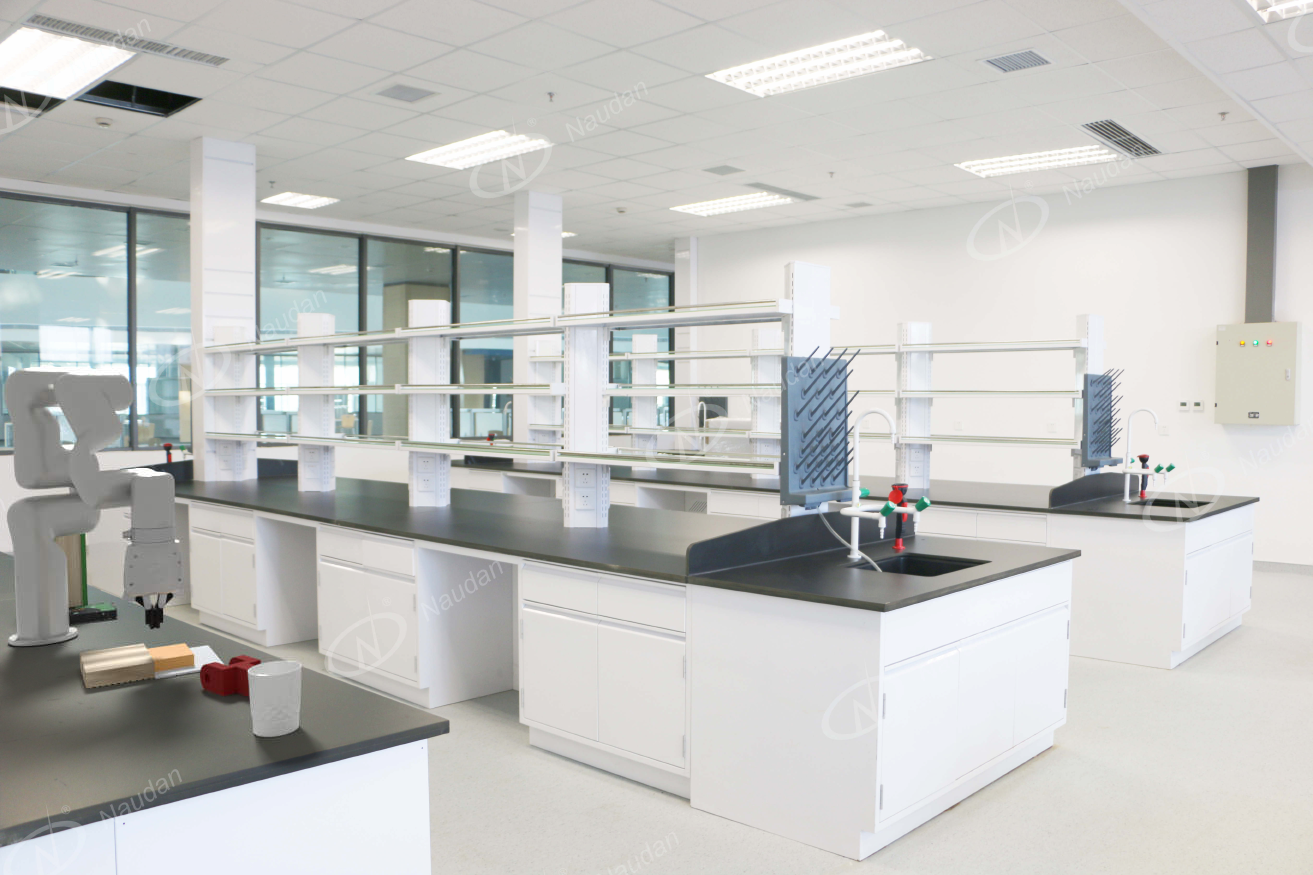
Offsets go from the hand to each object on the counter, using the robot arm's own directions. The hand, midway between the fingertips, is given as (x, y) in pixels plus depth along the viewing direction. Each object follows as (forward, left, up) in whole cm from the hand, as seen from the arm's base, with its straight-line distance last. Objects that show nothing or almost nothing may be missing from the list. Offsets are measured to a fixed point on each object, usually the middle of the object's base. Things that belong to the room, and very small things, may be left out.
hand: (154, 627), depth 177 cm
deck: (+1, -7, -8) cm, 10 cm away
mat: (+1, +5, -8) cm, 9 cm away
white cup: (+51, +11, -8) cm, 53 cm away
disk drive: (-55, -9, -8) cm, 56 cm away
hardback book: (-72, -12, -8) cm, 74 cm away
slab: (+1, +2, -7) cm, 8 cm away
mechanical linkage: (+27, +11, -8) cm, 30 cm away
